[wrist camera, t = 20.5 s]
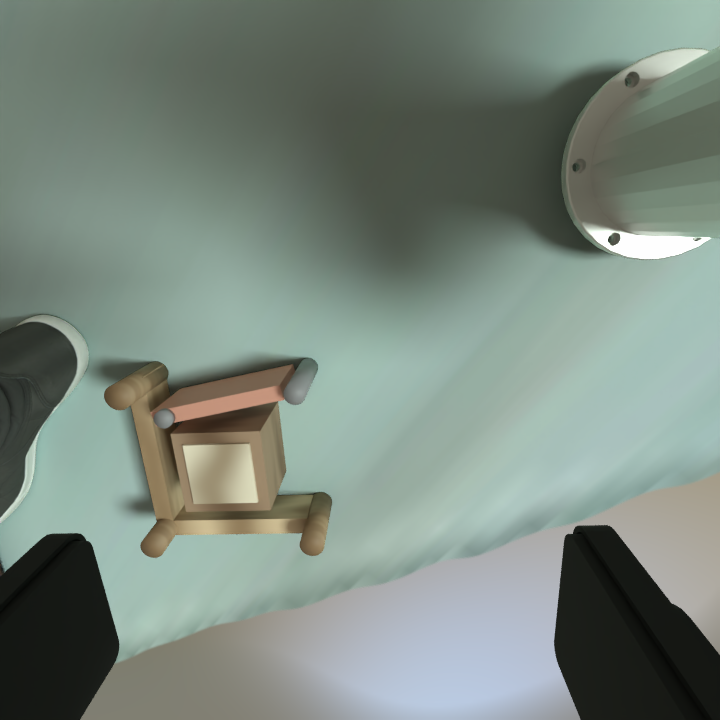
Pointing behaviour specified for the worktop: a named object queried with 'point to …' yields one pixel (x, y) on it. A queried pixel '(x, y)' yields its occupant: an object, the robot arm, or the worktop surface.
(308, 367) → the rail
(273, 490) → the seat block
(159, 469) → the frame
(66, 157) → the worktop surface
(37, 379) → the sneaker
